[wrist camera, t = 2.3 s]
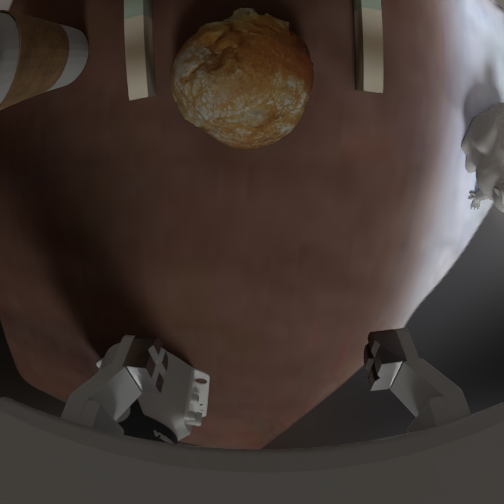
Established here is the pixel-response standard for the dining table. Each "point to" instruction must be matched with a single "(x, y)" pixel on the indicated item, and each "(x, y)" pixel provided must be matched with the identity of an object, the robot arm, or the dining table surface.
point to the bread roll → (243, 79)
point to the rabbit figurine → (487, 155)
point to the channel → (143, 57)
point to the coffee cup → (37, 56)
